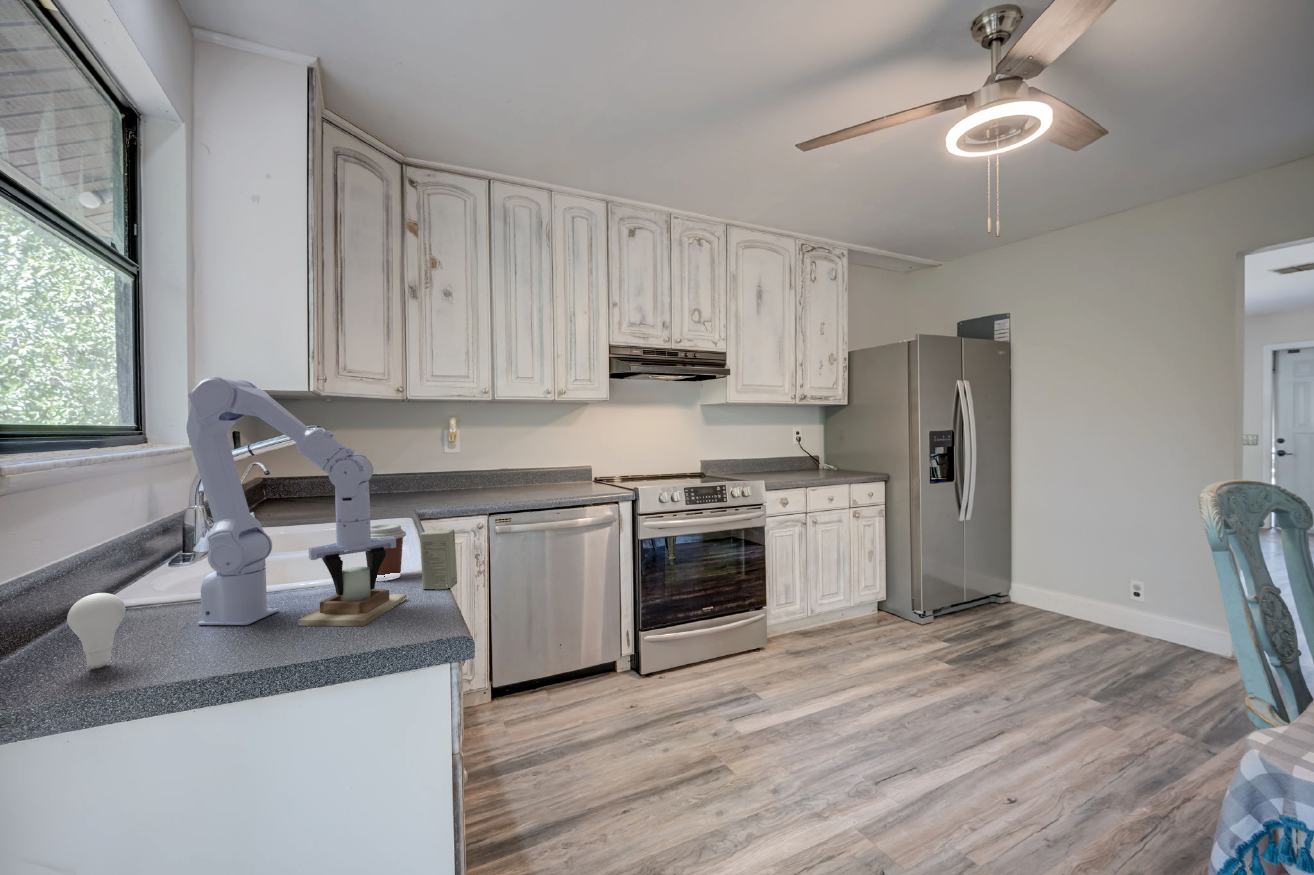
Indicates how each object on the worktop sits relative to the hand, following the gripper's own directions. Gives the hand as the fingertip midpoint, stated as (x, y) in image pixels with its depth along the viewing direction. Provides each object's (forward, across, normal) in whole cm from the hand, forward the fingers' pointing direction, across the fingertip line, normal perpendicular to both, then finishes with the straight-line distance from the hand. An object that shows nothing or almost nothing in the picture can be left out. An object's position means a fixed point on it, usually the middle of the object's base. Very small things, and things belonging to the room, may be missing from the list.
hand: (355, 591), depth 107 cm
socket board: (+4, 0, 0) cm, 4 cm away
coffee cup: (+4, +11, +21) cm, 24 cm away
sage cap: (+2, 0, 0) cm, 2 cm away
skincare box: (+4, +18, +5) cm, 19 cm away
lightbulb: (+4, -35, -1) cm, 35 cm away
